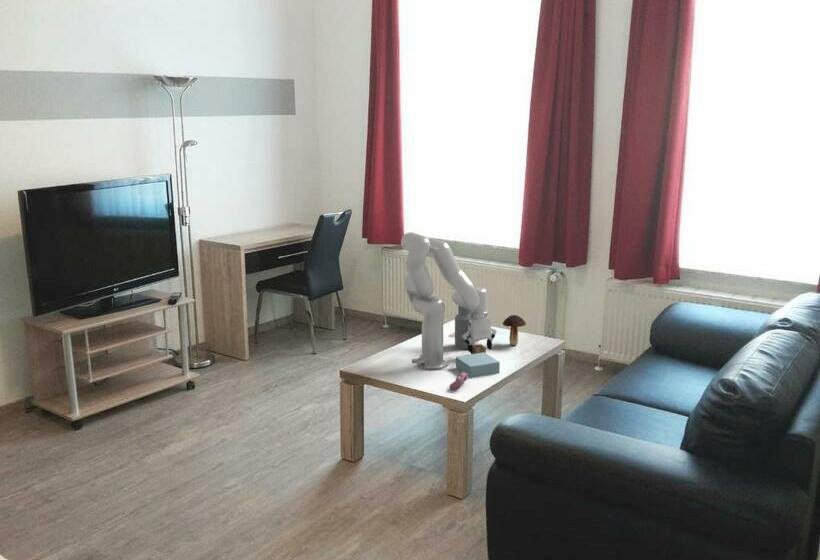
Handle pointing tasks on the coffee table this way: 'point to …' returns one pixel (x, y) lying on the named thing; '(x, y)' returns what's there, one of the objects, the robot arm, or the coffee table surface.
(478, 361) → the block
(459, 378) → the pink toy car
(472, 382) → the coffee table surface
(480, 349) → the walnut cube
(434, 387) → the coffee table surface
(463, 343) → the water bottle
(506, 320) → the decorative mushroom
